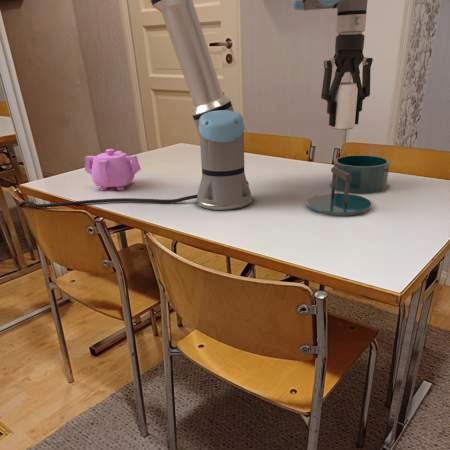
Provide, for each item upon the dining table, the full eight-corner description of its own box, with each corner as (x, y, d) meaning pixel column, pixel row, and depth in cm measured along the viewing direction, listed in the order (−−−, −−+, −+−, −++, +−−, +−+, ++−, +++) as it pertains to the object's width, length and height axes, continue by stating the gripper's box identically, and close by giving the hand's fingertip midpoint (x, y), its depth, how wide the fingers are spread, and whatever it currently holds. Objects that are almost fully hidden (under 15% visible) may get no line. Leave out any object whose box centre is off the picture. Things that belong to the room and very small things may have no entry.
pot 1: (150, 179, 156) (145, 143, 151) (133, 194, 141) (128, 155, 136) (99, 179, 159) (93, 144, 153) (77, 194, 144) (70, 155, 138)
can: (348, 130, 132) (352, 84, 126) (328, 129, 136) (330, 83, 130) (357, 127, 137) (362, 82, 131) (337, 125, 140) (340, 81, 134)
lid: (321, 219, 115) (323, 181, 111) (297, 200, 130) (299, 166, 125) (382, 212, 118) (387, 175, 114) (353, 195, 132) (356, 161, 128)
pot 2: (346, 195, 132) (348, 169, 128) (324, 182, 145) (326, 157, 142) (396, 190, 135) (400, 164, 131) (370, 177, 148) (373, 153, 144)
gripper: (322, 35, 119) (317, 129, 131) (390, 31, 123) (380, 123, 134) (310, 35, 126) (307, 125, 137) (376, 32, 129) (367, 120, 141)
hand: (343, 124), depth 136 cm, fingers closed on can, 6 cm apart
